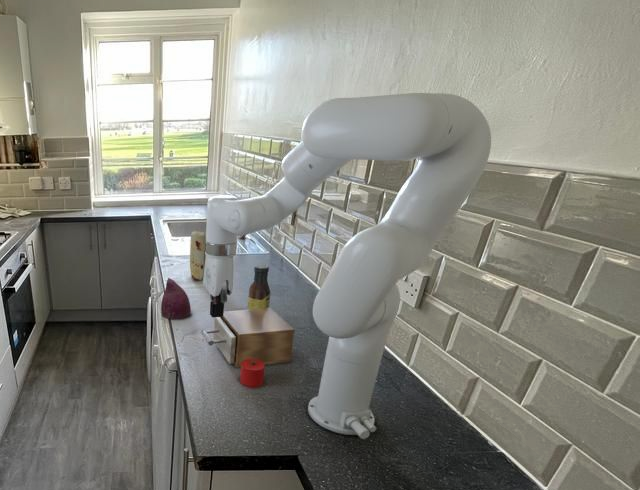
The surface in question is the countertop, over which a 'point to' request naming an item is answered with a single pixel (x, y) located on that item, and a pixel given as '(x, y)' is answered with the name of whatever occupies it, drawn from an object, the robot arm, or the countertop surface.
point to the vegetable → (175, 302)
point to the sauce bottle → (259, 289)
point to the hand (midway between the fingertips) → (216, 315)
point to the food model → (197, 254)
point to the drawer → (223, 339)
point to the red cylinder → (252, 372)
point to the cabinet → (260, 335)
